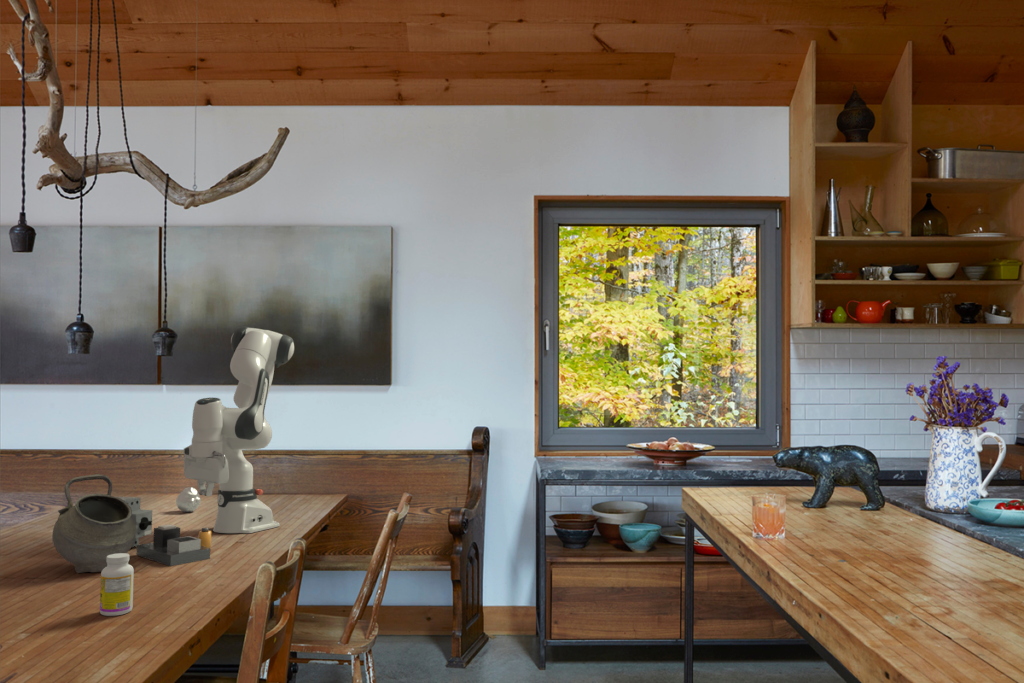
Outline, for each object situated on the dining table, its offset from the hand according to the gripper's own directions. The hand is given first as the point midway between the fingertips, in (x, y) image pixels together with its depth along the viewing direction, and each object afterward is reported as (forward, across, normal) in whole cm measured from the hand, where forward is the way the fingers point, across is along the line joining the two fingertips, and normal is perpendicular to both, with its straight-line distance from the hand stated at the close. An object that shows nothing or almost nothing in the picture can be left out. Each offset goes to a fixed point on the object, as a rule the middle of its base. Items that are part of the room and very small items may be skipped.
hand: (205, 495), depth 234 cm
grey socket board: (+17, 0, +10) cm, 20 cm away
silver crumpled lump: (+18, +66, -31) cm, 75 cm away
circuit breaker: (+17, +22, +13) cm, 31 cm away
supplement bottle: (+17, -42, +45) cm, 63 cm away
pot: (+17, +4, +31) cm, 35 cm away
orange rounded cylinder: (+17, 0, 0) cm, 17 cm away
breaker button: (+13, +4, +10) cm, 17 cm away
